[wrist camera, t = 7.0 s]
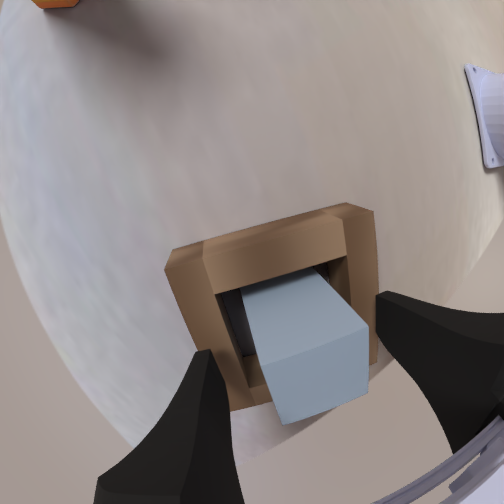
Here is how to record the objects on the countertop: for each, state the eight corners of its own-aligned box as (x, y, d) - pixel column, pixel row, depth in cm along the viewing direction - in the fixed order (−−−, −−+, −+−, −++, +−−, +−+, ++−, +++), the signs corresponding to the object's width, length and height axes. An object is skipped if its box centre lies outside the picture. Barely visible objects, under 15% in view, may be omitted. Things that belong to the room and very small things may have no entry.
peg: (306, 261, 13) (368, 326, 8) (317, 318, 14) (367, 393, 9) (238, 283, 13) (260, 365, 7) (256, 338, 14) (282, 425, 9)
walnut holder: (345, 202, 13) (373, 211, 10) (357, 338, 15) (376, 361, 13) (172, 249, 12) (164, 269, 10) (225, 381, 15) (228, 411, 12)
